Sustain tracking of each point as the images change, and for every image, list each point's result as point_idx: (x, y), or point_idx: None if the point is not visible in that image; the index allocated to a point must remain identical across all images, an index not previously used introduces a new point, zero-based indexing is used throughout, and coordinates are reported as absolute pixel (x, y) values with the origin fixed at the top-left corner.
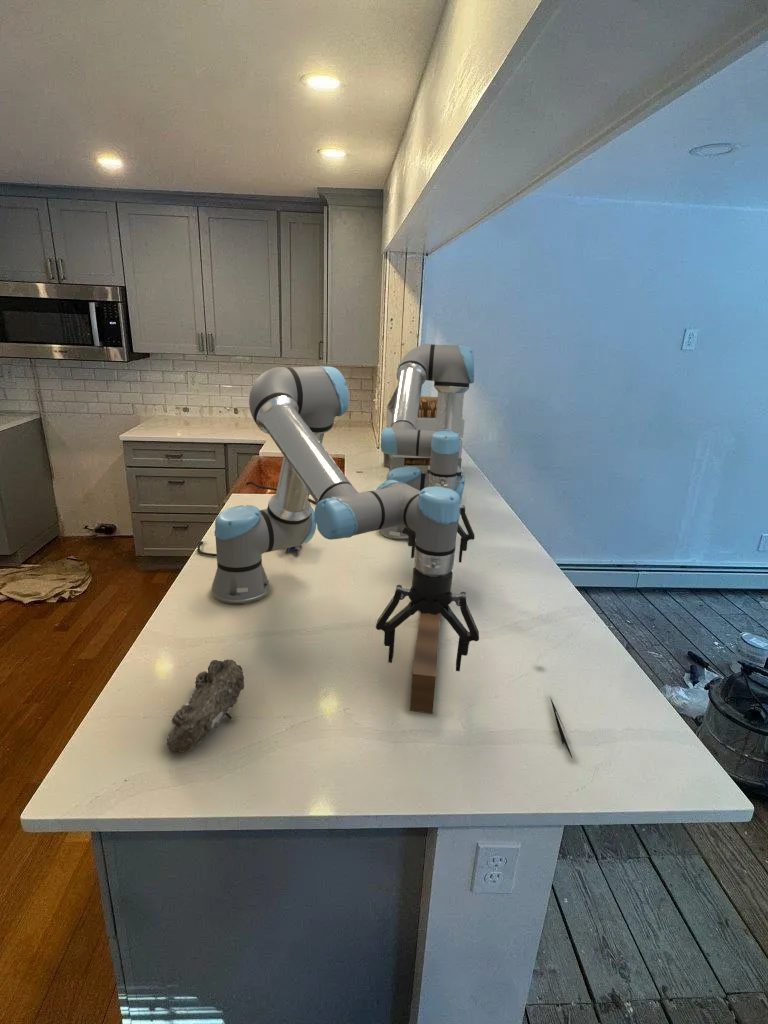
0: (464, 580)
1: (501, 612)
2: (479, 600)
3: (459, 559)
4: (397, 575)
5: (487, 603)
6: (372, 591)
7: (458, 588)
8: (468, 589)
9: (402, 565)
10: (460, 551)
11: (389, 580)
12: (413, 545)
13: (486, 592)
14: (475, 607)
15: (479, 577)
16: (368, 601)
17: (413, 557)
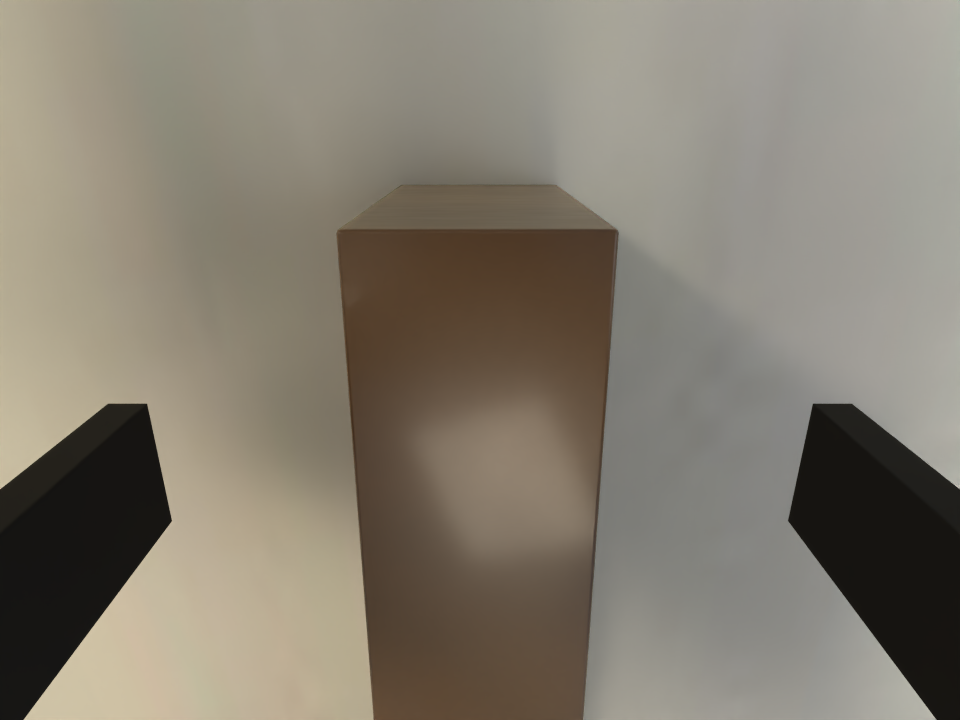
0: (774, 242)
1: None
2: None
3: (816, 547)
4: (114, 274)
5: None
6: None
7: (694, 412)
8: (781, 412)
9: (90, 3)
10: (898, 654)
11: (77, 389)
12: (33, 677)
13: (930, 434)
14: (784, 655)
15: (950, 136)
16: (48, 707)
17: (163, 527)
